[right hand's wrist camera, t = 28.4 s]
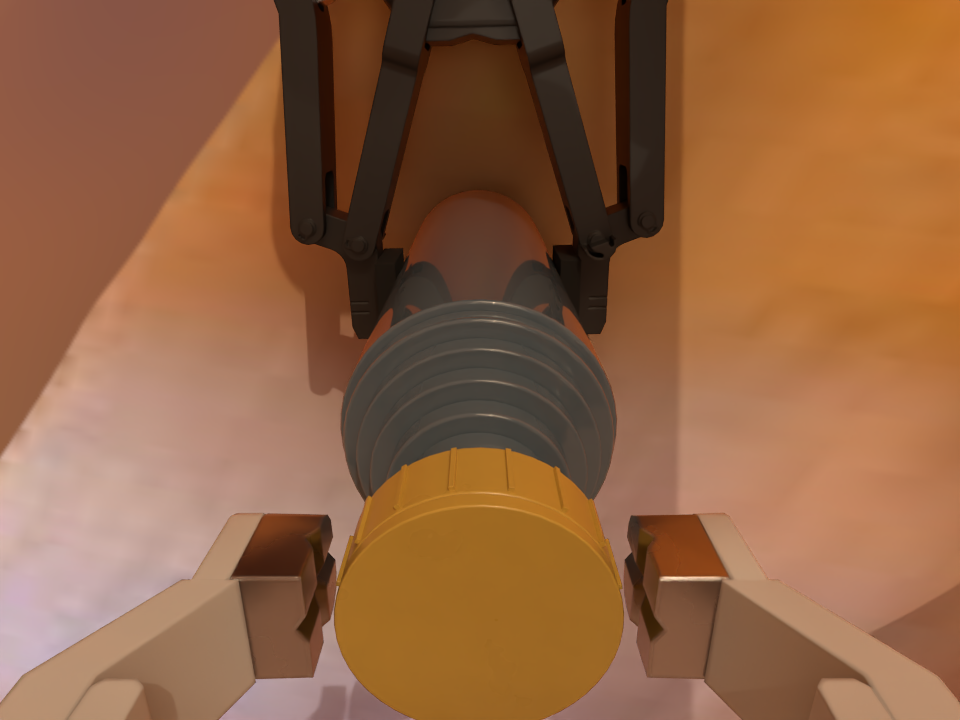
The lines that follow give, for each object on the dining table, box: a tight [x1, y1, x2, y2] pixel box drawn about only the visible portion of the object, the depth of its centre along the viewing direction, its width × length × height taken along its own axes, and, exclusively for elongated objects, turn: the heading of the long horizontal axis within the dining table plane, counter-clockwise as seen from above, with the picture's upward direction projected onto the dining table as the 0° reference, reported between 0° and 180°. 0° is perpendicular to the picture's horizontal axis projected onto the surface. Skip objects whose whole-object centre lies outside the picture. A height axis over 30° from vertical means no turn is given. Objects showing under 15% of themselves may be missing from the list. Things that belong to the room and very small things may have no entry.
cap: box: [334, 447, 624, 720], centre depth 10 cm, size 4×4×2 cm
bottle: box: [341, 190, 617, 501], centre depth 20 cm, size 6×6×23 cm
